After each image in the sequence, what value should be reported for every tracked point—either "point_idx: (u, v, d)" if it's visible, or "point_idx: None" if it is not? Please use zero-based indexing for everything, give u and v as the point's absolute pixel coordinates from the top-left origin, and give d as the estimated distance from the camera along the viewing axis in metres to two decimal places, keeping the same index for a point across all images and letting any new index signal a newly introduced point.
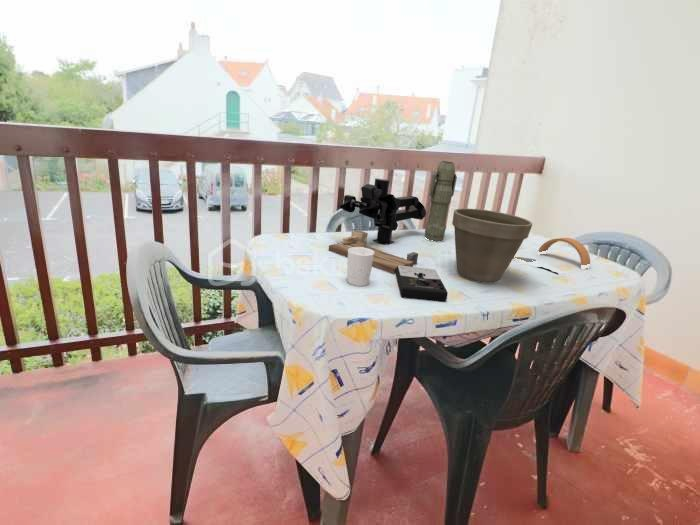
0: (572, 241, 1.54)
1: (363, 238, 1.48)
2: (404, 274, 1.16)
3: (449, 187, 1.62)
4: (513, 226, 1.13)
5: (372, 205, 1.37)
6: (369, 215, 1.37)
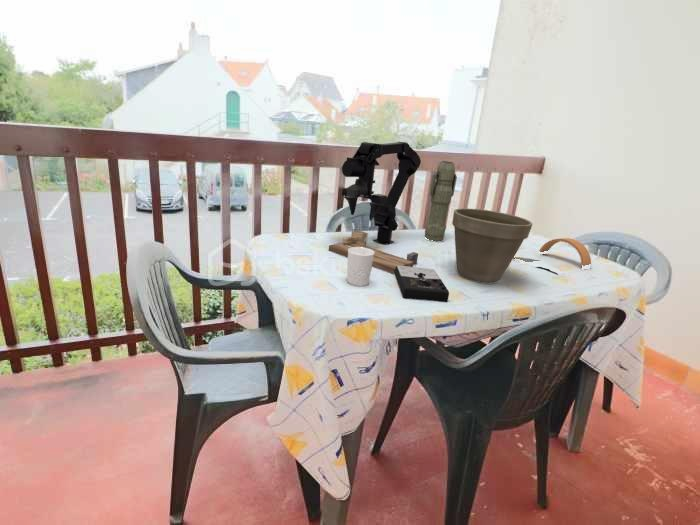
0: (573, 241, 1.53)
1: (363, 238, 1.48)
2: (404, 275, 1.15)
3: (449, 187, 1.62)
4: (513, 226, 1.13)
5: (371, 205, 1.40)
6: (377, 209, 1.43)
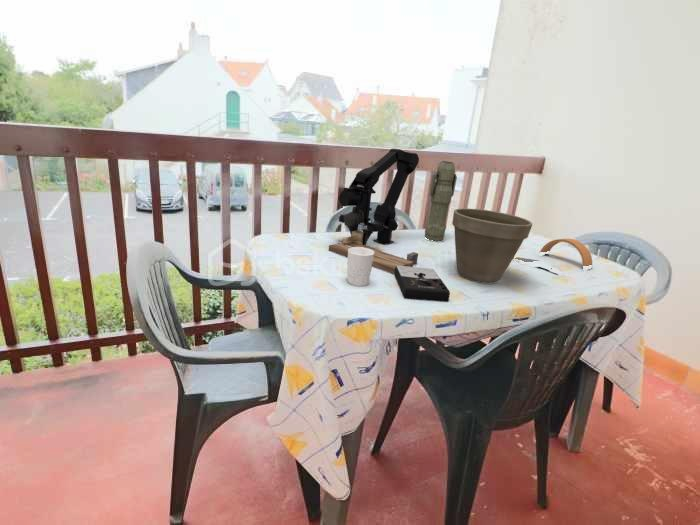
0: (574, 242, 1.53)
1: None
2: (404, 275, 1.15)
3: (449, 187, 1.62)
4: (513, 226, 1.13)
5: (364, 231, 1.44)
6: (370, 234, 1.47)
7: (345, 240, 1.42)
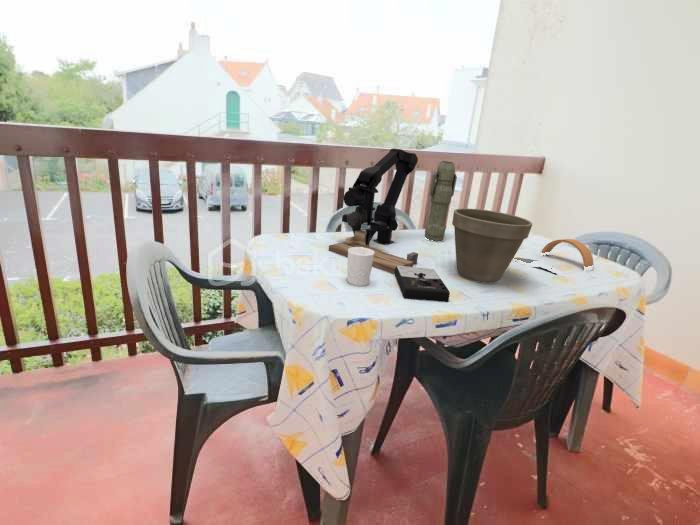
0: (575, 242, 1.52)
1: None
2: (404, 275, 1.15)
3: (449, 187, 1.62)
4: (513, 226, 1.13)
5: (367, 231, 1.43)
6: (373, 234, 1.46)
7: (348, 240, 1.41)
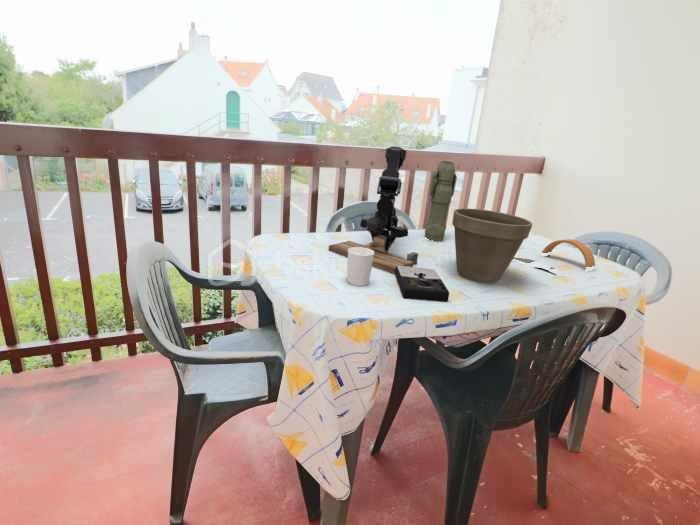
0: (576, 243, 1.52)
1: None
2: (404, 275, 1.15)
3: (449, 187, 1.62)
4: (513, 226, 1.13)
5: (387, 237, 1.38)
6: (393, 240, 1.41)
7: (368, 246, 1.36)
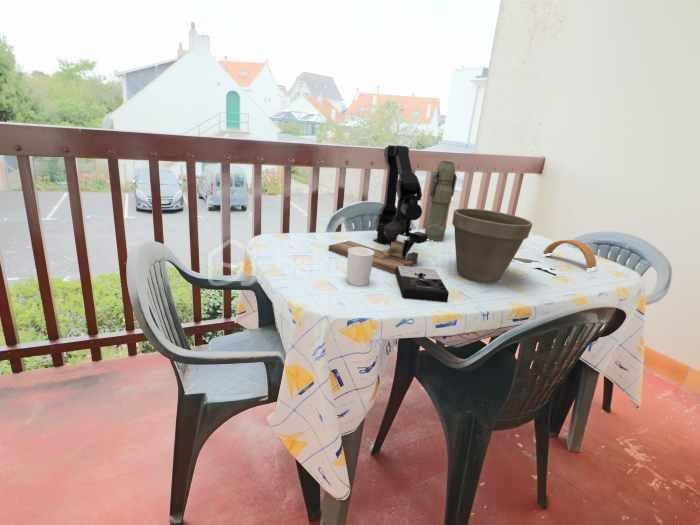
0: (578, 243, 1.51)
1: None
2: (404, 274, 1.15)
3: (449, 187, 1.62)
4: (513, 226, 1.13)
5: (405, 243, 1.33)
6: (411, 245, 1.36)
7: (386, 252, 1.31)
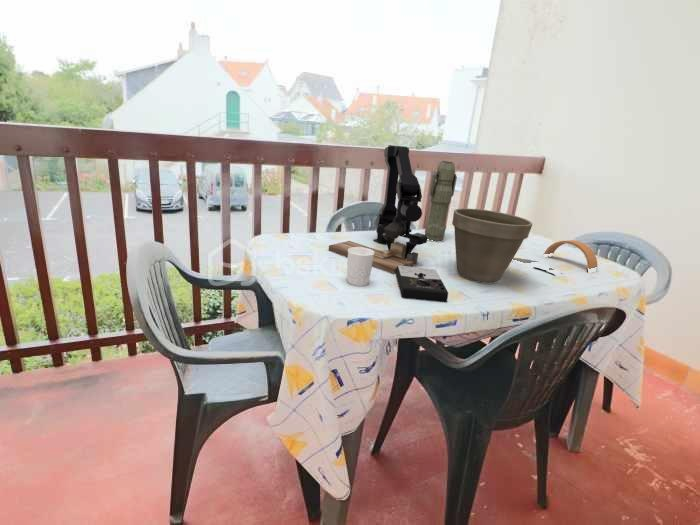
0: (579, 244, 1.51)
1: (404, 251, 1.36)
2: (404, 274, 1.15)
3: (449, 187, 1.62)
4: (513, 226, 1.13)
5: (407, 245, 1.33)
6: (413, 247, 1.36)
7: (386, 254, 1.31)
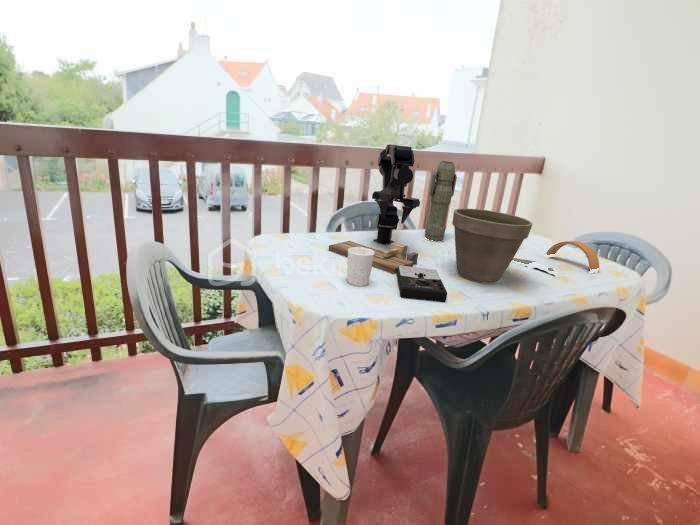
0: (581, 244, 1.50)
1: (404, 251, 1.36)
2: (404, 274, 1.16)
3: (449, 187, 1.62)
4: (513, 226, 1.13)
5: (404, 209, 1.39)
6: (409, 212, 1.42)
7: (386, 254, 1.31)
